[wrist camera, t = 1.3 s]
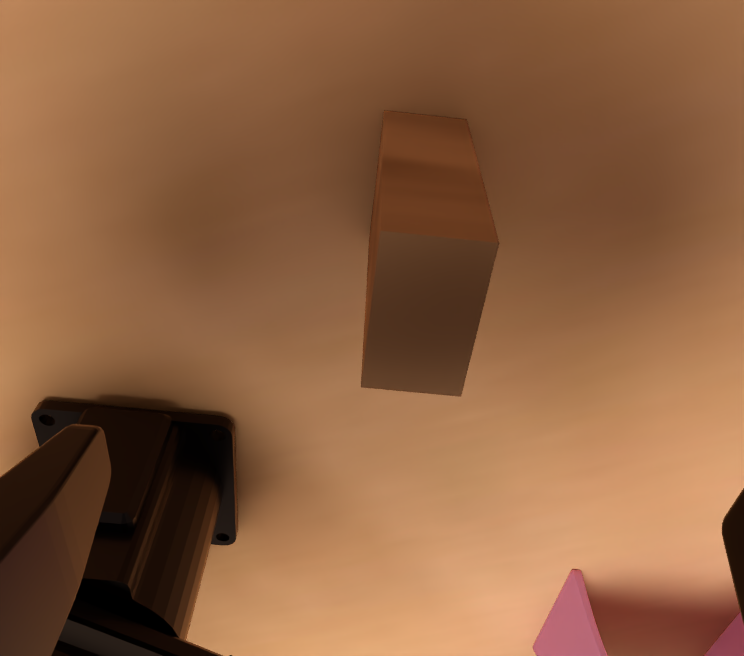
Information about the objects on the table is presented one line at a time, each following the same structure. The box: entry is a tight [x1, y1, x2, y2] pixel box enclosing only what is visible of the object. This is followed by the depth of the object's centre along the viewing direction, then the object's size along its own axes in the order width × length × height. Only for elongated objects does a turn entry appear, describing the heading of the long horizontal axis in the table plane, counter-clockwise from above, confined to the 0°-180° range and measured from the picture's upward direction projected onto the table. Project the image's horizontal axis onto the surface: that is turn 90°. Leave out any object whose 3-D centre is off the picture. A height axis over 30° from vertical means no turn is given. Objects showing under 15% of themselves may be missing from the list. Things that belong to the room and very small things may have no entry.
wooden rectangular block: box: [361, 110, 499, 396], centre depth 14 cm, size 4×2×6 cm, turn 174°
